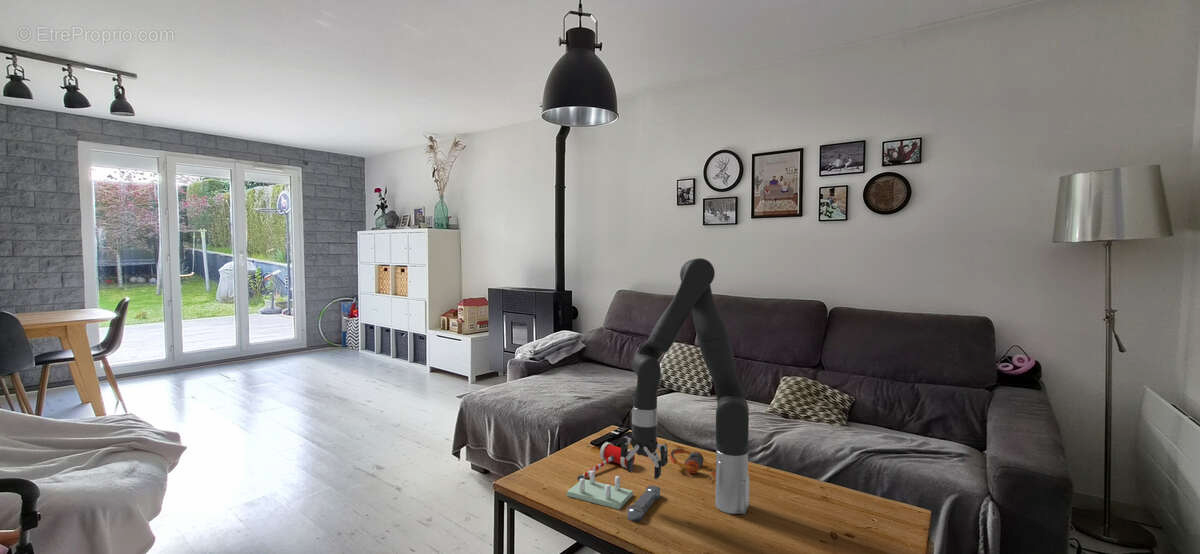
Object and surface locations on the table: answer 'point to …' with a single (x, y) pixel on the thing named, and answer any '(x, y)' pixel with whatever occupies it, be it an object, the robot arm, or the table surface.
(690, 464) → the headphones
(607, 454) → the toy hammer
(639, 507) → the grey ball-ended rod
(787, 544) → the table surface
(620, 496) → the tool rack
